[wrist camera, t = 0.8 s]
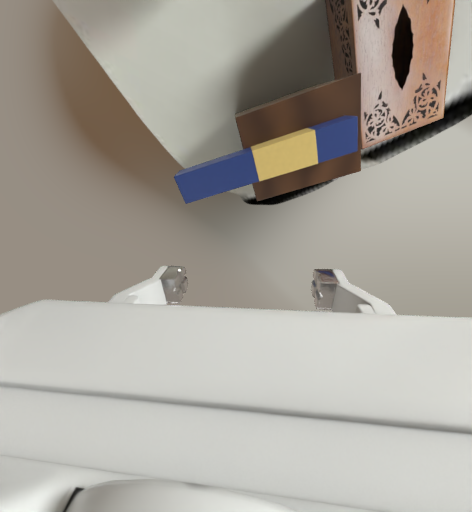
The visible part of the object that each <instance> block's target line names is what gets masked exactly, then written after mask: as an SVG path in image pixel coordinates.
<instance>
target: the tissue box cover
mask: <svg viewBox="0 0 472 512" xmlns="http://www.w3.org/2000/svg"><path fill="white" fill-rule="evenodd" d="M325 1H326V9H327V17H328V26H329V34H330V43H331V51H332V60H333V68H334V76H335V80H336V79H340V78H343V77H347V76H350V75H354V74H357V73H361V149H364V148H367V147H369V146H372V145H375V144H377V143H380V142H382V141H385V140H387V139H390V138H392V137H395V136H398V135H400V134H403V133H405V132H408V131H410V130H413V129H416V128H418V127H421V126H423V125H426V124H428V123H431V122H434V121H436V120H439V119H441V118H443V115H444V105H445V95H446V85H447V76H448V66H449V56H450V46H451V36H452V26H453V16H454V7H455V0H325Z"/></svg>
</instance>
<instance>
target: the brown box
mask: <svg viewBox="0 0 472 512" xmlns="http://www.w3.org/2000/svg"><path fill="white" fill-rule="evenodd" d="M345 115H346V116H357V117H358V151H356V152H353V153H350V154H347V155H343V156H340V157H337V158H333V159H330V160H327V161H324V162H320V163H318V164H315V165H312V166H308V167H305V168H302V169H299V170H295V171H292V172H289V173H286V174H282V175H279V176H276V177H273V178H269V179H266V180H263V181H259V182H255V183H252V184H253V188H254V191H255V195H256V199H257V201H260V200H263V199H267V198H270V197H273V196H277V195H280V194H284V193H287V192H290V191H294V190H297V189H301V188H304V187H308V186H311V185H314V184H318V183H321V182H325V181H328V180H331V179H335V178H338V177H342V176H345V175H349V174H352V173H355V172H359V171H361V73H357V74H354V75H350V76H347V77H343V78H340V79H336V80H333V81H329V82H326V83H322V84H319V85H315V86H312V87H308V88H305V89H303V90H300V91H297V92H294V93H292V94H289V95H286V96H283V97H281V98H278V99H275V100H272V101H270V102H267V103H264V104H261V105H259V106H256V107H253V108H250V109H248V110H245V111H242V112H239V113H237V114H235V119H236V122H237V126H238V130H239V134H240V138H241V142H242V145H243V149H246V148H249V147H251V146H254V145H257V144H260V143H263V142H266V141H269V140H272V139H275V138H278V137H281V136H284V135H287V134H290V133H293V132H296V131H299V130H302V129H305V128H309V127H312V126H315V125H318V124H321V123H324V122H327V121H330V120H333V119H336V118H339V117H342V116H345Z"/></svg>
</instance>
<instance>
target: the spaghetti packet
mask: <svg viewBox="0 0 472 512" xmlns="http://www.w3.org/2000/svg"><path fill="white" fill-rule="evenodd" d="M356 151H358V117H357V116H346V115H345V116H342V117H339V118H336V119H333V120H330V121H327V122H324V123H321V124H318V125H315V126H312V127H309V128H305V129H302V130H299V131H296V132H293V133H290V134H287V135H284V136H281V137H278V138H275V139H272V140H269V141H266V142H263V143H260V144H257V145H254V146H251V147H249V148H246V149H243V150H240V151H237V152H234V153H231V154H228V155H225V156H222V157H219V158H216V159H213V160H210V161H207V162H204V163H201V164H198V165H195V166H192V167H189V168H186V169H183V170H180V171H179V172H178V173H177V174H176V175H175V176H174V178H175V181H176V183H177V185H178V187H179V190H180V192H181V194H182V196H183V199H184V201H185V203H186V204H187V203H190V202H193V201H197V200H200V199H203V198H206V197H210V196H213V195H216V194H219V193H223V192H226V191H229V190H232V189H236V188H239V187H242V186H246V185H249V184H252V183H255V182H259V181H263V180H266V179H269V178H273V177H276V176H279V175H282V174H286V173H289V172H292V171H295V170H299V169H302V168H305V167H308V166H312V165H315V164H318V163H320V162H324V161H327V160H330V159H333V158H337V157H340V156H343V155H347V154H350V153H353V152H356Z"/></svg>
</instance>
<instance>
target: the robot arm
mask: <svg viewBox="0 0 472 512" xmlns="http://www.w3.org/2000/svg"><path fill="white" fill-rule="evenodd" d="M185 274H186V270H185V267H180V266H161V267H160V268H159V269H158V271H157V272H156V273H155V274H154V275H153V277H152V278H151V279H147V280H145V281H143V282H141V283H139V284H136V285H134V286H132V287H130V288H128V289H126V290H124V291H121V292H119V293H117V294H115V295H114V296H113V297H112V298H111V299H110V301H109V302H107V303H106V302H85V301H62V300H40V301H37V302H34V303H30V304H27V305H24V306H22V307H19V308H16V309H13V310H10V311H8V312H5V313H3V314H0V512H472V318H461V317H436V316H414V315H396V314H395V312H394V311H393V309H392V308H391V307H390V306H389V304H387V303H385V302H383V301H381V300H380V299H378V298H376V297H374V296H372V295H371V294H369V293H367V292H365V291H363V290H362V289H360V288H358V287H356V286H354V285H352V284H349V282H348V281H347V279H346V277H345V275H344V274H343V272H342V270H341V269H315V270H314V272H313V277H314V280H313V281H312V295H313V297H314V298H315V300H314V302H315V306H316V309H324V310H325V309H326V310H332V311H333V312H320V311H296V310H273V309H249V308H225V307H202V306H178V305H166V304H167V303H180V302H181V300H182V298H183V293H185V292H186V290H187V286H188V280H187V278H186V277H185V276H184V275H185Z"/></svg>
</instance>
